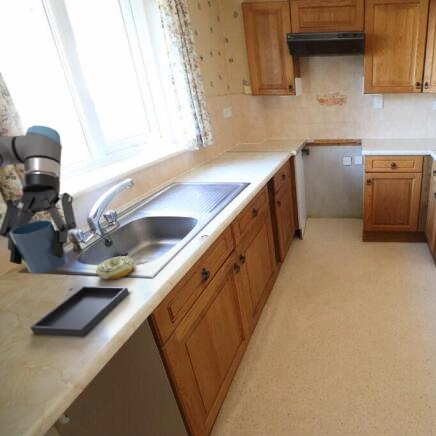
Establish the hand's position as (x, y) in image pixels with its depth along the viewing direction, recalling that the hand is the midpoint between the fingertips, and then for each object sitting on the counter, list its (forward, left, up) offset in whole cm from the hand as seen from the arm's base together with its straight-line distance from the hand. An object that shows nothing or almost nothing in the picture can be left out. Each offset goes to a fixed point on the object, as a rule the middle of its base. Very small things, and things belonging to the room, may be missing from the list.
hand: (37, 259), depth 80 cm
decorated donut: (-16, +14, -19) cm, 29 cm away
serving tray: (+1, +4, -19) cm, 19 cm away
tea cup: (-3, +1, -4) cm, 5 cm away
